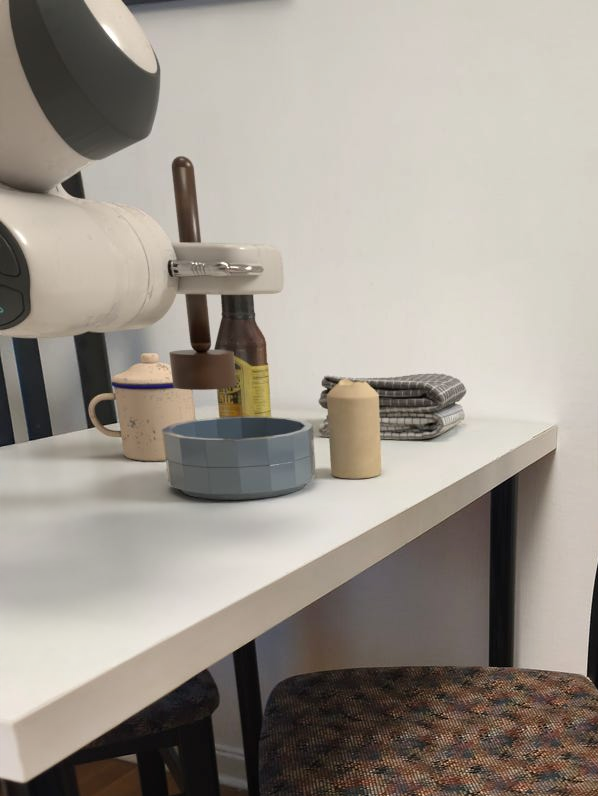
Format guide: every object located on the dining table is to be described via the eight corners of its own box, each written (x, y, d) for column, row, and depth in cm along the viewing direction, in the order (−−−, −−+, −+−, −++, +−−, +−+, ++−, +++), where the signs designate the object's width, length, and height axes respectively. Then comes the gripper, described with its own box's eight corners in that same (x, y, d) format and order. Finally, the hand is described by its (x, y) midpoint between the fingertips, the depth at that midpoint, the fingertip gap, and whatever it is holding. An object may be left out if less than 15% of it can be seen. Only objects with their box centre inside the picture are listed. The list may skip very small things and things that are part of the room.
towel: (445, 442, 117) (445, 380, 114) (312, 437, 120) (308, 376, 117) (467, 424, 130) (467, 368, 127) (347, 420, 133) (344, 365, 130)
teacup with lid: (200, 446, 113) (189, 349, 108) (202, 459, 105) (191, 356, 100) (98, 450, 109) (83, 351, 105) (93, 465, 101) (76, 358, 97)
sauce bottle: (213, 448, 111) (195, 277, 104) (258, 443, 115) (244, 277, 107) (238, 456, 107) (221, 278, 99) (284, 450, 111) (271, 278, 103)
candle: (321, 473, 98) (315, 380, 94) (361, 466, 102) (357, 376, 98) (351, 481, 95) (346, 384, 91) (391, 474, 98) (388, 380, 94)
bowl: (150, 502, 86) (142, 439, 83) (193, 470, 99) (187, 415, 97) (302, 502, 86) (298, 440, 84) (324, 471, 99) (321, 416, 97)
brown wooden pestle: (165, 389, 79) (136, 151, 72) (183, 382, 84) (158, 159, 77) (228, 390, 79) (205, 152, 72) (242, 382, 84) (223, 160, 77)
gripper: (241, 221, 63) (307, 230, 76) (-18, 220, 66) (87, 228, 79) (249, 315, 66) (312, 308, 79) (-1, 310, 69) (98, 304, 81)
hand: (197, 268), depth 79 cm, fingers closed on brown wooden pestle
